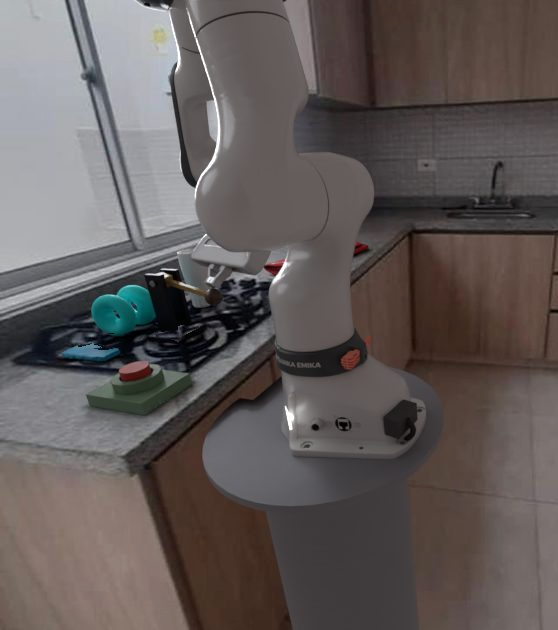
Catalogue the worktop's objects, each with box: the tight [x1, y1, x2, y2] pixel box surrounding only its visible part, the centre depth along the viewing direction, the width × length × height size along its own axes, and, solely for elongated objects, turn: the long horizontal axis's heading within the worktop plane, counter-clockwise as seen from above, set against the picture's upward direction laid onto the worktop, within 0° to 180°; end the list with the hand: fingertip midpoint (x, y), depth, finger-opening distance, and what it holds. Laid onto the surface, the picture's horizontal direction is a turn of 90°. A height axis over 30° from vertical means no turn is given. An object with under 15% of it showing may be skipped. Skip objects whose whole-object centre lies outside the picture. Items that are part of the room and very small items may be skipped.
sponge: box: [61, 342, 122, 362], centre depth 92 cm, size 2×12×6 cm
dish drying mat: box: [263, 241, 369, 276], centre depth 159 cm, size 16×41×4 cm, turn 154°
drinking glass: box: [176, 247, 213, 309], centre depth 116 cm, size 7×7×15 cm
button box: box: [85, 363, 193, 416], centre depth 75 cm, size 12×10×4 cm
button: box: [118, 360, 152, 382], centre depth 74 cm, size 4×4×2 cm
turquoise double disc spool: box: [90, 284, 156, 337], centre depth 103 cm, size 10×10×10 cm
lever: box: [156, 271, 224, 306], centre depth 95 cm, size 16×4×4 cm, turn 73°
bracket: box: [143, 268, 208, 345], centre depth 98 cm, size 8×9×15 cm
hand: (211, 286), depth 93 cm, fingers closed
